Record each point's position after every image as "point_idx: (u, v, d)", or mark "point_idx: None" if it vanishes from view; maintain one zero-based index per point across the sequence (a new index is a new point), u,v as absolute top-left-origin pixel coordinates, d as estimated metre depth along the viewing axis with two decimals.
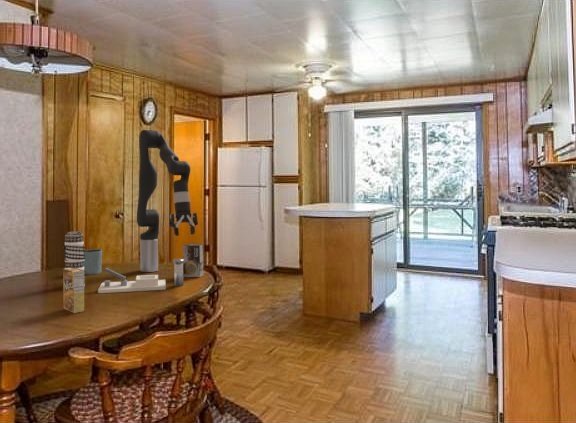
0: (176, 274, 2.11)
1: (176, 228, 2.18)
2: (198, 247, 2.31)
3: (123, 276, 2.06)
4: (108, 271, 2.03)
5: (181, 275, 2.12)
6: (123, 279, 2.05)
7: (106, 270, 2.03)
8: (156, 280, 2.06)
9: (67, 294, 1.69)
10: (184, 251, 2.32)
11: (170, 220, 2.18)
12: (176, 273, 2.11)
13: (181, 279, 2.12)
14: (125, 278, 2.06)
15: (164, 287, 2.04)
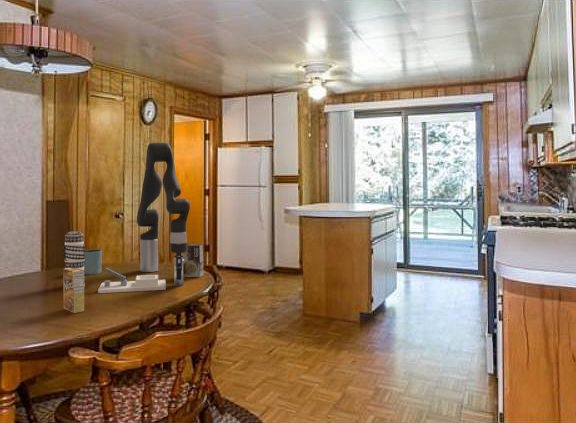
0: None
1: (180, 272, 2.10)
2: (198, 247, 2.31)
3: (123, 276, 2.06)
4: (108, 271, 2.03)
5: (181, 275, 2.12)
6: (123, 279, 2.05)
7: (106, 270, 2.03)
8: (156, 280, 2.06)
9: (67, 294, 1.69)
10: None
11: (178, 265, 2.07)
12: None
13: (181, 279, 2.12)
14: (125, 278, 2.06)
15: (164, 287, 2.04)
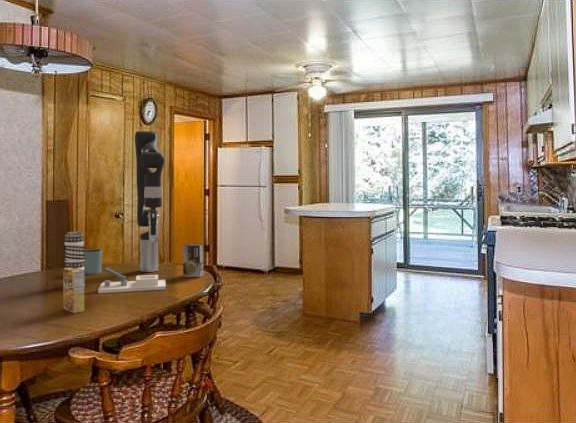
0: None
1: (155, 227, 2.06)
2: (198, 247, 2.31)
3: (123, 276, 2.06)
4: (108, 271, 2.03)
5: (156, 231, 2.08)
6: (123, 279, 2.05)
7: (106, 270, 2.03)
8: (156, 280, 2.06)
9: (67, 294, 1.69)
10: (184, 251, 2.32)
11: (152, 219, 2.03)
12: None
13: (156, 235, 2.08)
14: (125, 278, 2.06)
15: (164, 287, 2.04)
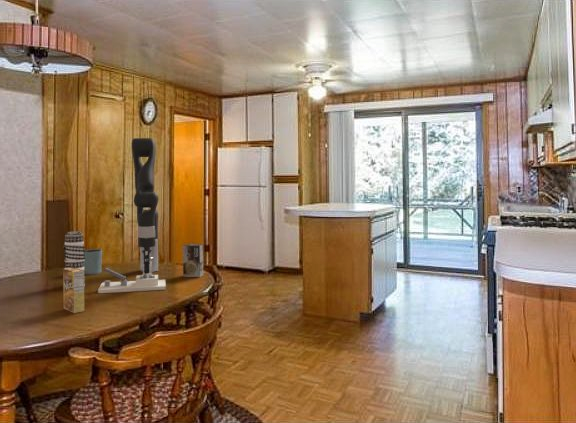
0: None
1: (148, 265, 2.05)
2: (198, 247, 2.31)
3: (123, 276, 2.06)
4: (108, 271, 2.03)
5: (150, 273, 2.08)
6: (123, 279, 2.05)
7: (106, 270, 2.03)
8: (156, 280, 2.06)
9: (67, 294, 1.69)
10: (184, 251, 2.32)
11: (146, 257, 2.02)
12: None
13: (149, 277, 2.08)
14: (125, 278, 2.06)
15: (164, 287, 2.04)
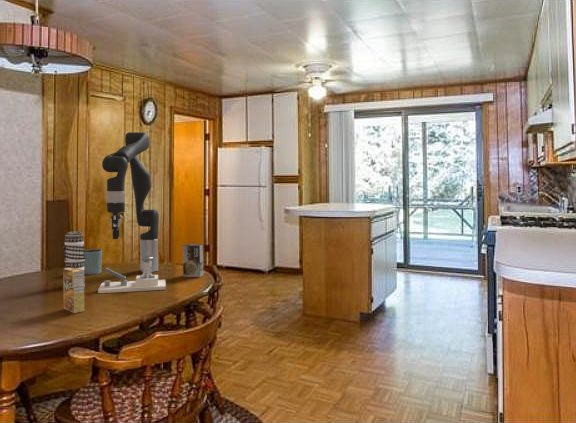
0: (144, 272, 2.07)
1: (117, 231, 2.00)
2: (198, 247, 2.31)
3: (123, 276, 2.06)
4: (108, 271, 2.03)
5: (149, 273, 2.08)
6: (123, 279, 2.05)
7: (106, 270, 2.03)
8: (156, 280, 2.06)
9: (67, 294, 1.69)
10: (184, 251, 2.32)
11: (114, 222, 1.97)
12: (144, 271, 2.07)
13: (149, 277, 2.08)
14: (125, 278, 2.06)
15: (164, 287, 2.04)
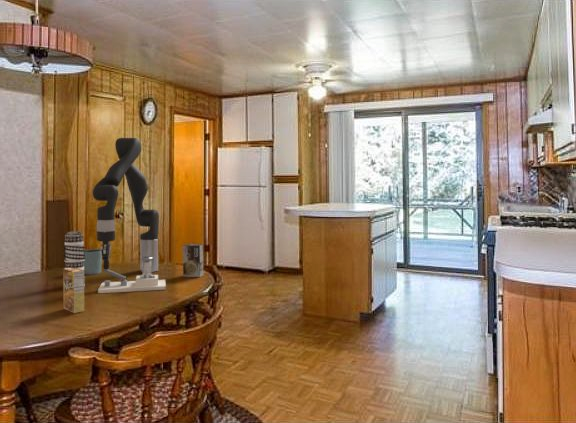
0: (144, 272, 2.07)
1: (107, 261, 2.04)
2: (198, 247, 2.31)
3: (123, 276, 2.06)
4: (108, 272, 2.03)
5: (149, 273, 2.08)
6: (123, 279, 2.05)
7: (106, 271, 2.03)
8: (156, 280, 2.06)
9: (67, 294, 1.69)
10: (184, 251, 2.32)
11: (104, 255, 1.99)
12: (144, 271, 2.07)
13: (149, 277, 2.08)
14: (125, 278, 2.06)
15: (164, 287, 2.04)
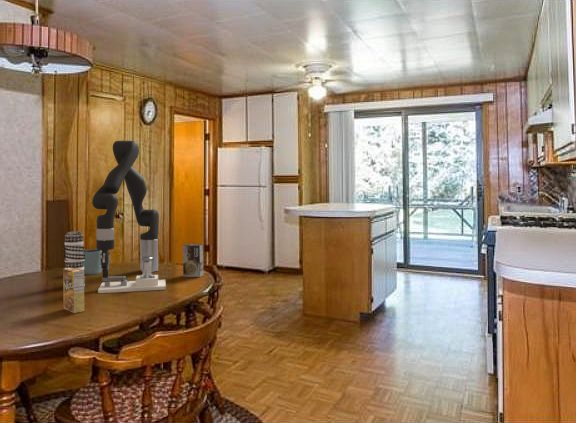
0: (144, 272, 2.07)
1: (106, 269, 2.03)
2: (198, 247, 2.31)
3: (122, 276, 2.06)
4: (106, 279, 2.03)
5: (149, 273, 2.08)
6: (123, 279, 2.05)
7: (103, 279, 2.03)
8: (156, 280, 2.06)
9: (67, 294, 1.69)
10: (184, 251, 2.32)
11: (103, 264, 1.99)
12: (144, 271, 2.07)
13: (149, 277, 2.08)
14: (125, 277, 2.06)
15: (164, 287, 2.04)
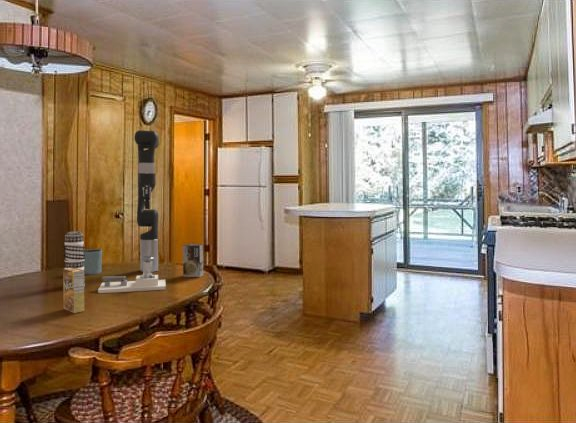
0: (144, 272, 2.07)
1: None
2: (198, 247, 2.31)
3: (122, 276, 2.06)
4: (106, 279, 2.03)
5: (149, 273, 2.08)
6: (123, 279, 2.05)
7: (103, 279, 2.03)
8: (156, 280, 2.06)
9: (67, 294, 1.69)
10: (184, 251, 2.32)
11: (146, 195, 2.15)
12: (144, 271, 2.07)
13: (149, 277, 2.08)
14: (125, 277, 2.06)
15: (164, 287, 2.04)
